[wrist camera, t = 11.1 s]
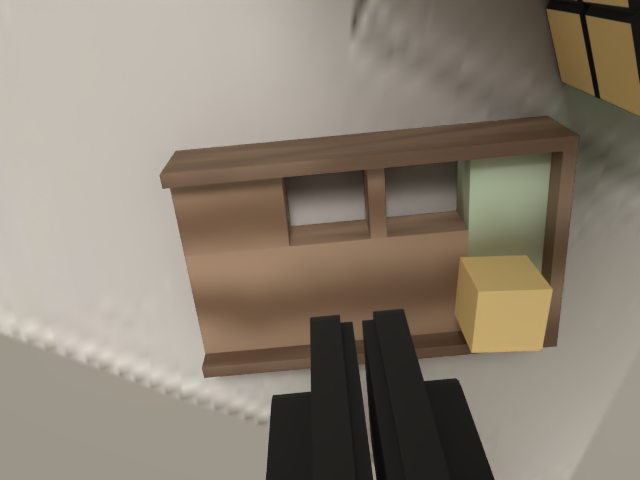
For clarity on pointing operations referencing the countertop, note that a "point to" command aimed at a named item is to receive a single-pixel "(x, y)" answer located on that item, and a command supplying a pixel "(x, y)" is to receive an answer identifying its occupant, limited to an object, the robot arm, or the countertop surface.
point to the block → (502, 304)
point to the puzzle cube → (599, 48)
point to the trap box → (363, 236)
